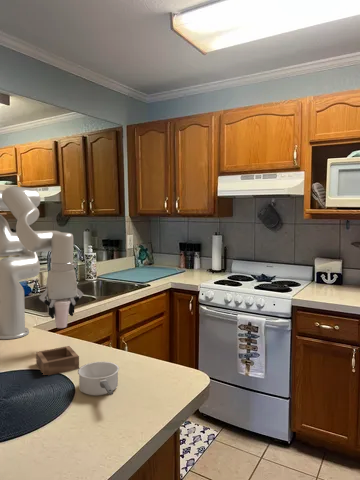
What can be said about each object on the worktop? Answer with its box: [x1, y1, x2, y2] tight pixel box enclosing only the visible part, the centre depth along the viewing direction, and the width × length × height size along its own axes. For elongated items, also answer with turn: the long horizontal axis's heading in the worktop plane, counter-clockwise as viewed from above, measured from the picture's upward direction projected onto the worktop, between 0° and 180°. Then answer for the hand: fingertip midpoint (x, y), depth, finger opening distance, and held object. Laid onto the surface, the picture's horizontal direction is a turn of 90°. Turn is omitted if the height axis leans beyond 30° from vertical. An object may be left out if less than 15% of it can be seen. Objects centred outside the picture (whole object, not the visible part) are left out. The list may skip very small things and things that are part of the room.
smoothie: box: [53, 298, 71, 329], centre depth 130 cm, size 6×6×14 cm
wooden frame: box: [35, 345, 80, 376], centre depth 117 cm, size 11×11×4 cm
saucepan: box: [77, 361, 120, 396], centre depth 99 cm, size 12×20×6 cm, turn 25°
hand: (61, 315), depth 131 cm, fingers closed on smoothie, 6 cm apart
